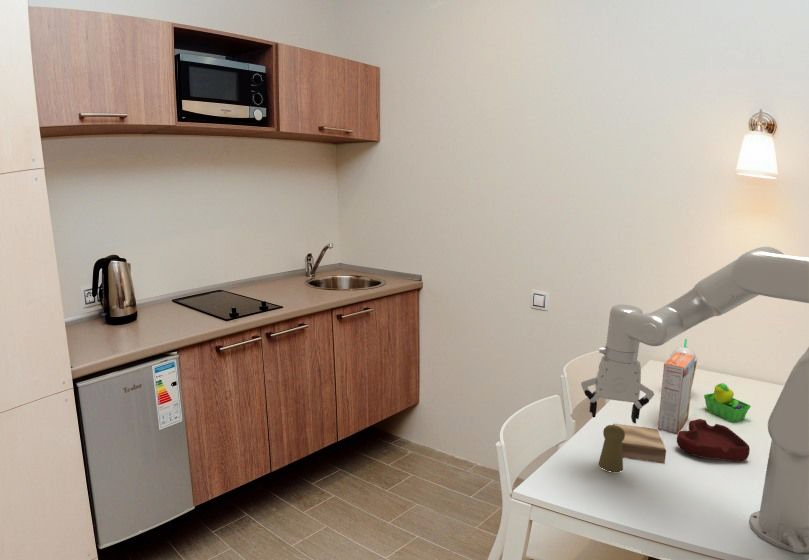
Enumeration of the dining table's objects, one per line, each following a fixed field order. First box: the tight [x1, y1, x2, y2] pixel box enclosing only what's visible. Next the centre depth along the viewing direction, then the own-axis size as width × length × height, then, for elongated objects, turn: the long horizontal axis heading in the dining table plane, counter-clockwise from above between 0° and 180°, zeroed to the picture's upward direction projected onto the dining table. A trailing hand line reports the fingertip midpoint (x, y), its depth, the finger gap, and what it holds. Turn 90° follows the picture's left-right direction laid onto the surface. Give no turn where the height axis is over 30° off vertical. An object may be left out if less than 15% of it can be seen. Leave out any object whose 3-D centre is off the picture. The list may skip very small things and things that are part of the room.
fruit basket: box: [703, 382, 752, 423], centre depth 171 cm, size 11×9×11 cm
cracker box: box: [657, 352, 695, 435], centre depth 163 cm, size 14×6×21 cm, turn 141°
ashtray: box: [676, 418, 751, 462], centre depth 149 cm, size 18×16×5 cm
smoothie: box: [669, 338, 699, 390], centre depth 185 cm, size 8×8×20 cm
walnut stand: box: [612, 423, 667, 464], centre depth 149 cm, size 12×12×4 cm
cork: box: [598, 424, 625, 473], centre depth 139 cm, size 6×6×11 cm
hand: (613, 417), depth 138 cm, fingers open, 9 cm apart
